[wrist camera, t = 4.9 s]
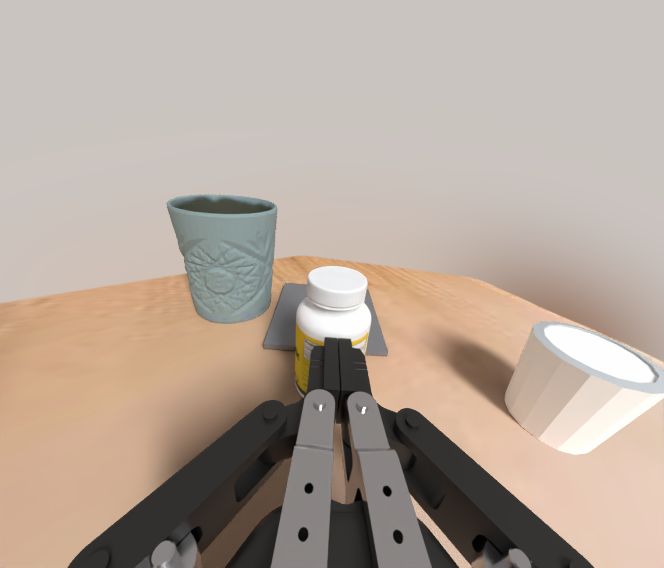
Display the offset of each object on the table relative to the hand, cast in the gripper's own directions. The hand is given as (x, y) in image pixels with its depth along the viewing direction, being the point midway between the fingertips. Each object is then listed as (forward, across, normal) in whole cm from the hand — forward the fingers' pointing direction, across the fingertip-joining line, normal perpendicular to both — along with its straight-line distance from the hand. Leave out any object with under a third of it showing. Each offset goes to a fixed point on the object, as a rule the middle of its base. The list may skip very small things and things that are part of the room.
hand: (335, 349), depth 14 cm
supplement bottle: (+4, 0, +7) cm, 8 cm away
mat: (+14, 0, +7) cm, 15 cm away
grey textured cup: (+15, +11, +7) cm, 20 cm away
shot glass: (+2, -18, +7) cm, 19 cm away
